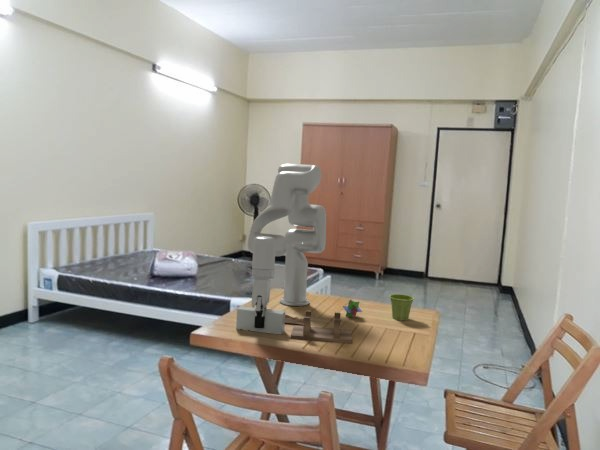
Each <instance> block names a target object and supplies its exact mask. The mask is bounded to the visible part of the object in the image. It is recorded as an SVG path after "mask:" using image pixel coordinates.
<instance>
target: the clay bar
mask: <svg viewBox="0 0 600 450" xmlns="http://www.w3.org/2000/svg"><path fill="white" fill-rule="evenodd" d="M261 310H262V309H261ZM255 313H256V307H252V306H243V305H241V306H239V307H237V309H236V325H235V326H236V328H235V329H236V330H240V329H243V331H248V330H250V332H259V333H267V334H275V335H282V334H283V333H284V332H285V328H286V327H285V324H286V323H285V314H286V310H279V309H268V308H267V309H264V316H265V320H264V328H255Z"/></svg>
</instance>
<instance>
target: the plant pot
mask: <svg viewBox="0 0 600 450" xmlns="http://www.w3.org/2000/svg"><path fill="white" fill-rule="evenodd" d="M389 298H390V303H391V315H392V317H391V318H393V319H394V320H396V321H402V320H403V321H408V320H409V317H410V313H411V309H412V305H413V301H414V300H415V297H413V296H411V295H408V294H401V293H395V294H390V295H389Z"/></svg>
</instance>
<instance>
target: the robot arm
mask: <svg viewBox="0 0 600 450" xmlns="http://www.w3.org/2000/svg"><path fill="white" fill-rule="evenodd" d="M321 181H322V170H321V168H320V166H319V165H316V164H301V163H284V164H280V165H279V166H278V169H277V174H276V176H275V179H274V183H273V187H272V192H271V196H270V199H269V204H268V206H267V207H266V208H265V209H264V210H263V211H261V212H260V213H259V214H258V215H257V216H256V218H255V219H254V220H253V222H252V224H251V227H250V229H249V235H248V238H247V248H248V251H249V252H250V253H251V254H252V262H251V263H252V266H251V268H252V269H251V277H252V279H253V284H252V294H251V295H252V296H251V305H250V307H253V308H256V313H255V328H264V320H265V316H264V309H268V305H269V303H270V298H271V297H270V296H271V280H272V279H274V278H275V267H276V266H275V265H276V264H275V263H276V257H282V256H284V255H285V263H284V265H285V266H284V283H283V284H284V285H283V286H284V287H283V297H281V298H279V302H280V303H281V304H282V305H286V306H292V307H302V306H303V307H304V306H308V305H309V304H310V299H308V298H307V286H308V284H307V282H308V268H309V267H308V266H309V261H308V260H307V257H306V255H305V254H304V253H310V254H311V253H312V254H321V253H323V252H325V249H326V246H327V245H326V244H327V212H326V209H325V207H324V206H323V205H320V204H311V203H310V202H309V195H310V194H312V193H313V192H314V191H315V190H316V189H317V187H318V186H319V185H320V182H321ZM285 217H287V220H288V223H289V224H290V226H294V227H300V228H290V229H288V230H287V231H286V232H285V234H284V235H281V234H272V233H263V232H262V230H263V229H264V228H265V227H266V226H267V225H269V224H271V222H274V221H276V220H280V219H283V218H285ZM301 227H302V228H301ZM305 228H312V229H305ZM261 309H262V310H261Z"/></svg>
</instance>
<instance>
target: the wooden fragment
mask: <svg viewBox="0 0 600 450" xmlns="http://www.w3.org/2000/svg"><path fill="white" fill-rule="evenodd" d="M285 324H292V325H301V326H304V318H299V317H297V316H296V317H293V316H291V315H289V314H286V313H285Z"/></svg>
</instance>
